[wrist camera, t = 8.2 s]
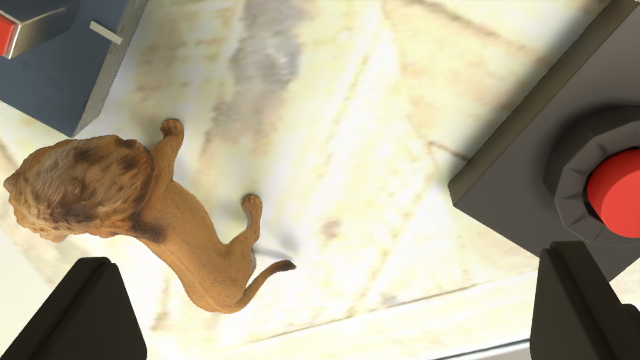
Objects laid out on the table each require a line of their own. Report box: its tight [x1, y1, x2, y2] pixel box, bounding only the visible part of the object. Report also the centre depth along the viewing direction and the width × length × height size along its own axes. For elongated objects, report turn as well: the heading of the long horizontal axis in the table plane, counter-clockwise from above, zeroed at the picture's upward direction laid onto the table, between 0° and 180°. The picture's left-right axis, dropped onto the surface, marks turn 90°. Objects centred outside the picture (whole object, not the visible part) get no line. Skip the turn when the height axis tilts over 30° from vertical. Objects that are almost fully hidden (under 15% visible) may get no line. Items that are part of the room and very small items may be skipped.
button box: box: [448, 0, 640, 282], centre depth 25 cm, size 12×10×4 cm
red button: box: [587, 149, 640, 238], centre depth 23 cm, size 4×4×2 cm
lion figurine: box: [3, 119, 296, 314], centre depth 26 cm, size 15×5×9 cm, turn 47°
